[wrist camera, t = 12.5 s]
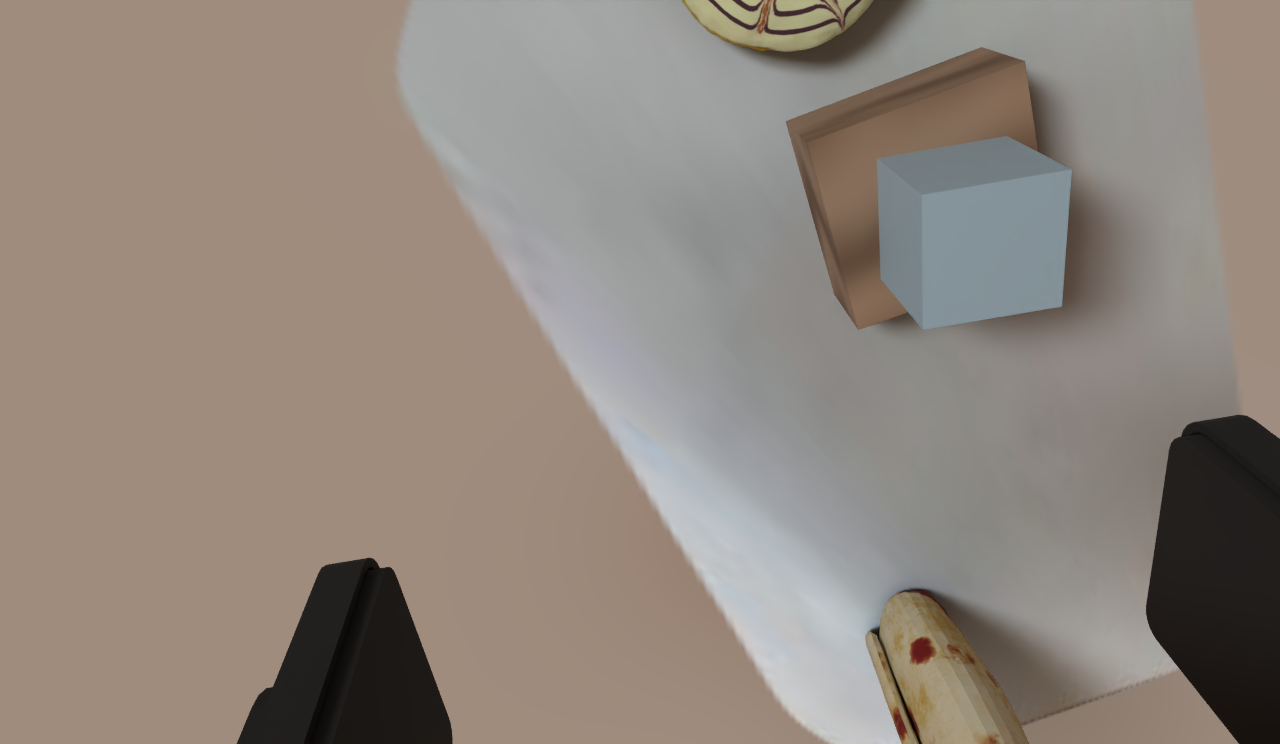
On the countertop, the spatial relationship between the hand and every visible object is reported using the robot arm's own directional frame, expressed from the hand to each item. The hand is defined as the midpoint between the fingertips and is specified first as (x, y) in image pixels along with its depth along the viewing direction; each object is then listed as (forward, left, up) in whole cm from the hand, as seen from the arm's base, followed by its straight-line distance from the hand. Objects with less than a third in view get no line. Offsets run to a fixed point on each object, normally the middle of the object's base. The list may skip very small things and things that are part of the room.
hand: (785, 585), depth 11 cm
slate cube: (+7, +14, -31) cm, 35 cm away
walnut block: (+7, +13, -36) cm, 39 cm away
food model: (+38, +13, -36) cm, 54 cm away
